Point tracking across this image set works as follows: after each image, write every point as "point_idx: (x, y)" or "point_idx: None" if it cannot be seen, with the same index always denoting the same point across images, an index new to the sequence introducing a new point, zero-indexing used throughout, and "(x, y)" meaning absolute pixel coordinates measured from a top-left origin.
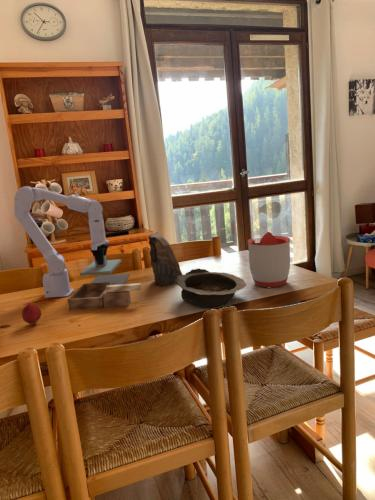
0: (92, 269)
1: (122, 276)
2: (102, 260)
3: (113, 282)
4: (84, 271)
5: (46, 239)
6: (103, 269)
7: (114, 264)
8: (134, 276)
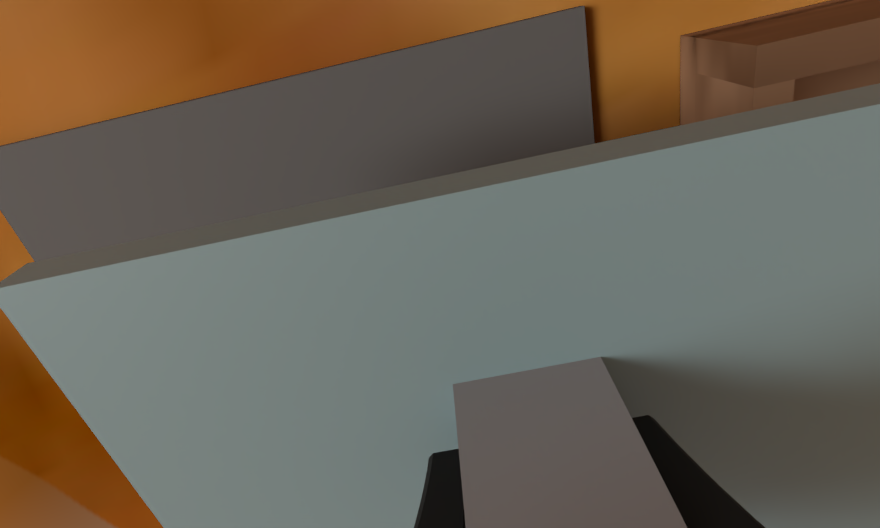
0: (755, 470)
1: (114, 207)
2: (718, 486)
3: (771, 41)
4: (833, 522)
5: None
6: (839, 290)
7: (463, 234)
8: (21, 44)
